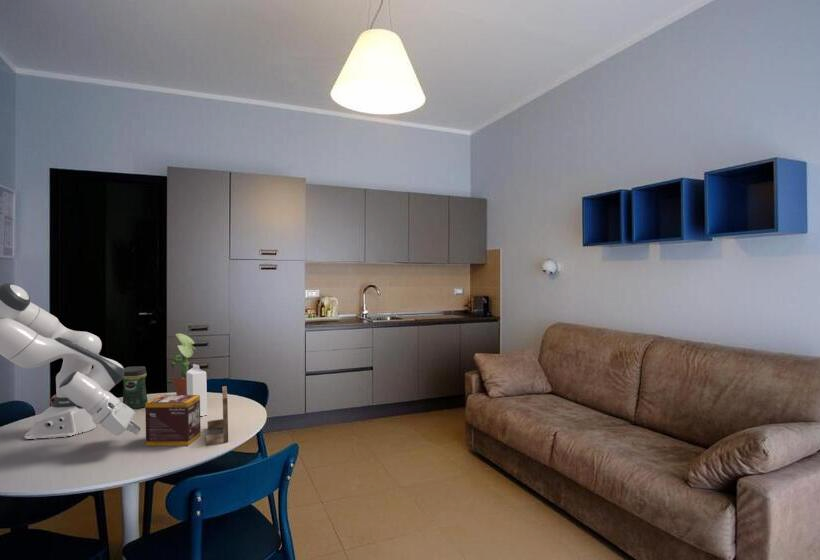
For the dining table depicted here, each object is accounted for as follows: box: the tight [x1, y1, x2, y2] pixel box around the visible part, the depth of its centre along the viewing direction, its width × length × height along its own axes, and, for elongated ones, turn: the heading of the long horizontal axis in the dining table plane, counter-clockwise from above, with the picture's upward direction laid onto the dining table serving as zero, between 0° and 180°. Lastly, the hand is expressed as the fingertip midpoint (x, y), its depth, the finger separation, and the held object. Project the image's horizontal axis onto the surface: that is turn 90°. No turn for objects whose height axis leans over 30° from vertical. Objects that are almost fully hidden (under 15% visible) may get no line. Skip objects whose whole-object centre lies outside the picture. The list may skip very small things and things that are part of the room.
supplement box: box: [144, 394, 202, 447], centre depth 174 cm, size 10×15×16 cm
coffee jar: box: [121, 365, 149, 410], centre depth 218 cm, size 10×8×19 cm
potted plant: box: [170, 332, 196, 395], centre depth 220 cm, size 16×15×35 cm
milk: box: [186, 363, 208, 417], centre depth 204 cm, size 6×6×22 cm
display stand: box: [205, 385, 229, 446], centre depth 180 cm, size 7×19×16 cm, turn 22°
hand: (138, 431), depth 170 cm, fingers closed
